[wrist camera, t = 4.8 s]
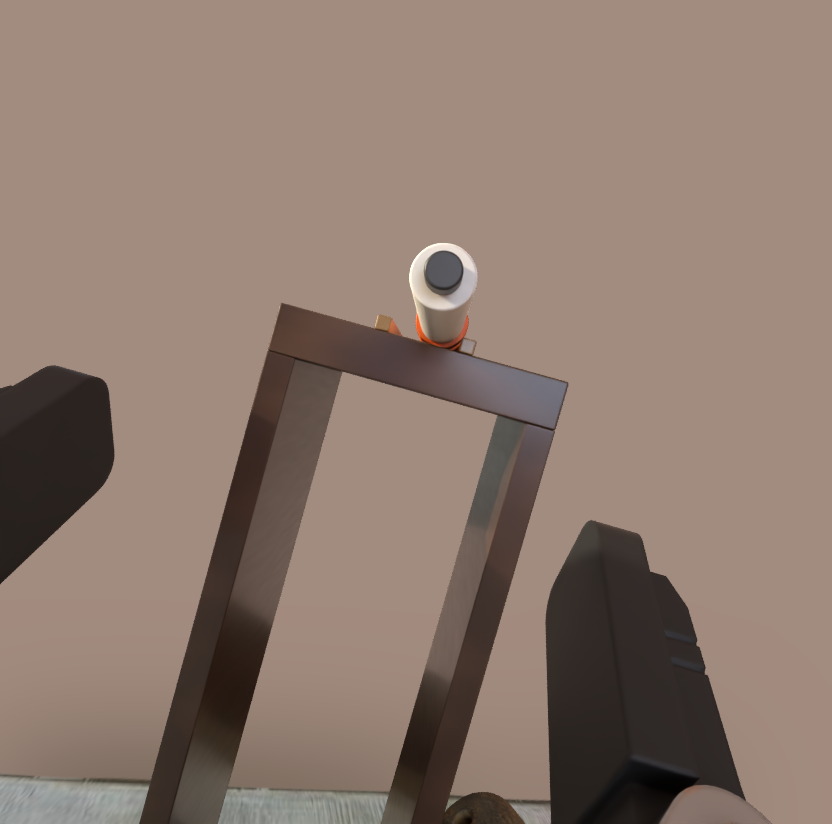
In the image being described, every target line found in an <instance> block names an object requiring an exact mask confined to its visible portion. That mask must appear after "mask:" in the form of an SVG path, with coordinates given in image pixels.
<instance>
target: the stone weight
mask: <svg viewBox="0 0 832 824" xmlns="http://www.w3.org/2000/svg"><path fill="white" fill-rule="evenodd" d="M441 824H525V823H524V822H523V820H522V819H521V817H520V816H519V815H518V814H517V812H516V811H515V810H514V809H513V808H512V806H511V805H510V804H509V803H508V802H507V801H506V800H504V799H503V798H502V797H500V796H498V795H495V794H493V793H488V792H478V793H472V794H470V795H467V796H465V797H463V798H461V799H459V800H458V801H456V802H455V803H454V804H452V805H451V806H450V807H449V808H448V809H447V810H446V812H445V813H444V816H443V820H442V823H441Z"/></svg>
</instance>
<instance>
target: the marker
mask: <svg viewBox="0 0 832 824" xmlns="http://www.w3.org/2000/svg"><path fill="white" fill-rule="evenodd" d="M477 276H478V274H477V269H476V265H475V263H474V261H473V259H472V257H471V256H470V255H469V254H468V253H467V252H466V251H465V250H464V249H462V248H461V247H459V246H456V245H453V244H449V243H439V244H434V245H431V246H429V247H427V248H426V249H424V250H423V251H421V252H420V253H419V254H418V256H417V257H416V258H415V260H414V261H413V263H412V266H411V269H410V277H409V280H410V286H411V290H412V294H413V298H414V302H415V306H416V309H417V316H416V328H417V332H418V335H419V338H420V341H421V342H425V343H428V344H432V345H436V346H439V347H443V348H446V349H450V350H454V351H458V348H459V346H460V343H461V340H462V338H464V336H465V334H466V332H467V329H468V315H467V314H468V311H469V307H470V304H471V301H472V298H473V295H474V292H475V289H476V285H477V279H478V278H477Z"/></svg>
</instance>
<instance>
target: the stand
mask: <svg viewBox="0 0 832 824" xmlns="http://www.w3.org/2000/svg"><path fill="white" fill-rule="evenodd" d="M475 347H476V341H474V340H470V339H467V338H462V340H461V343H460V346H459V348H458V351H454V350H450V349H446V348H443V347H439V346H436V345H432V344H428V343H425V342H421V341H417V340H414V339H410V338H406V337H403V336H402V335H401V333H400V331H399V329H398V328H397V326H396V324H395V323H394V321H393V319H392V318H391V317H387V316H384V315H378V317H377V321H376V324H375V329H374V328H371V327H367V326H363V325H360V324H356V323H352V322H349V321H345V320H342V319H338V318H335V317H331V316H327V315H324V314H320V313H317V312H313V311H309V310H305V309H302V308H299V307H295V306H291V305H288V304H284V303H281V304H280V307H279V310H278V314H277V318H276V321H275V325H274V329H273V332H272V336H271V340H270V343H269V347H268V350H269V351H267V354H266V357H265V361H264V365H263V369H262V373H261V376H260V380H259V383H258V387H257V391H256V394H255V398H254V402H253V405H252V410H251V413H250V417H249V420H248V424H247V428H246V431H245V435H244V439H243V442H242V446H241V450H240V454H239V457H238V461H237V465H236V468H235V472H234V476H233V480H232V483H231V487H230V490H229V494H228V498H227V502H226V505H225V509H224V513H223V517H222V520H221V524H220V528H219V531H218V535H217V538H216V542H215V546H214V550H213V553H212V557H211V561H210V564H209V568H208V572H207V576H206V579H205V583H204V587H203V590H202V594H201V598H200V601H199V605H198V609H197V612H196V616H195V620H194V624H193V627H192V631H191V635H190V638H189V642H188V646H187V649H186V653H185V657H184V660H183V664H182V668H181V672H180V675H179V679H178V683H177V687H176V690H175V694H174V697H173V701H172V705H171V708H170V712H169V716H168V720H167V723H166V727H165V731H164V735H163V738H162V742H161V745H160V749H159V753H158V757H157V760H156V764H155V768H154V772H153V775H152V779H151V782H150V786H149V790H148V793H147V797H146V801H145V804H144V808H143V812H142V816H141V819H140V823H139V824H218V821H219V817H220V813H221V810H222V806H223V802H224V799H225V795H226V792H227V788H228V784H229V780H230V777H231V773H232V770H233V766H234V762H235V759H236V755H237V752H238V748H239V744H240V741H241V737H242V733H243V730H244V726H245V723H246V719H247V715H248V712H249V708H250V704H251V701H252V697H253V694H254V690H255V686H256V683H257V679H258V676H259V672H260V668H261V665H262V661H263V657H264V654H265V650H266V646H267V643H268V639H269V636H270V632H271V628H272V625H273V621H274V617H275V614H276V610H277V606H278V603H279V599H280V596H281V592H282V588H283V585H284V581H285V577H286V574H287V570H288V567H289V563H290V559H291V556H292V552H293V549H294V545H295V541H296V538H297V534H298V530H299V527H300V523H301V519H302V516H303V512H304V509H305V505H306V501H307V498H308V494H309V490H310V487H311V483H312V480H313V476H314V472H315V469H316V465H317V461H318V458H319V454H320V451H321V447H322V443H323V440H324V436H325V432H326V429H327V425H328V421H329V418H330V414H331V410H332V407H333V403H334V399H335V396H336V392H337V389H338V385H339V381H340V378H341V374H342V372H346V373H350V374H353V375H357V376H360V377H364V378H367V379H371V380H375V381H379V382H382V383H385V384H389V385H392V386H396V387H399V388H403V389H406V390H410V391H414V392H417V393H421V394H425V395H428V396H431V397H435V398H439V399H442V400H446V401H449V402H453V403H457V404H460V405H463V406H467V407H471V408H474V409H478V410H481V411H485V412H488V413H492V414H495V415H498V416H497V419H496V422H495V426H494V430H493V433H492V437H491V440H490V443H489V447H488V450H487V454H486V458H485V461H484V464H483V468H482V472H481V475H480V478H479V482H478V485H477V489H476V493H475V496H474V499H473V503H472V507H471V510H470V513H469V517H468V520H467V524H466V527H465V531H464V534H463V538H462V541H461V545H460V548H459V552H458V555H457V559H456V562H455V566H454V570H453V573H452V576H451V580H450V583H449V587H448V590H447V594H446V597H445V601H444V605H443V608H442V611H441V615H440V618H439V622H438V625H437V629H436V632H435V636H434V639H433V643H432V647H431V650H430V653H429V657H428V660H427V664H426V668H425V671H424V674H423V678H422V681H421V685H420V688H419V692H418V695H417V699H416V702H415V706H414V709H413V713H412V716H411V720H410V723H409V727H408V730H407V734H406V737H405V741H404V744H403V748H402V751H401V755H400V758H399V762H398V765H397V769H396V772H395V776H394V779H393V783H392V786H391V790H390V793H389V797H388V800H387V804H386V807H385V811H384V814H383V818H382V821H381V824H441V823H442V820H443V816H444V813H445V809H446V806H447V802H448V799H449V795H450V792H451V788H452V785H453V782H454V778H455V775H456V771H457V768H458V764H459V761H460V757H461V754H462V750H463V747H464V743H465V740H466V737H467V733H468V730H469V726H470V723H471V719H472V716H473V712H474V709H475V705H476V702H477V698H478V695H479V692H480V688H481V685H482V681H483V678H484V675H485V671H486V667H487V664H488V661H489V657H490V654H491V650H492V647H493V643H494V640H495V637H496V633H497V629H498V626H499V623H500V619H501V616H502V612H503V609H504V606H505V602H506V599H507V595H508V592H509V588H510V585H511V581H512V578H513V574H514V571H515V568H516V564H517V561H518V557H519V553H520V550H521V547H522V543H523V540H524V536H525V533H526V529H527V526H528V523H529V519H530V516H531V512H532V508H533V506H534V502H535V499H536V495H537V492H538V488H539V484H540V481H541V478H542V474H543V471H544V468H545V464H546V461H547V457H548V453H549V450H550V447H551V443H552V440H553V437H554V433H555V431H553V430H555V429H556V426H557V422H558V419H559V415H560V411H561V408H562V405H563V401H564V398H565V395H566V391H567V387H568V382H565V381H562V380H558V379H554V378H551V377H547V376H544V375H540V374H536V373H533V372H529V371H526V370H522V369H518V368H514V367H511V366H508V365H504V364H500V363H497V362H493V361H489V360H486V359H482V358H479V357H475V356H472V355H473V353H474V350H475Z"/></svg>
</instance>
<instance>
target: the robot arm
mask: <svg viewBox="0 0 832 824" xmlns="http://www.w3.org/2000/svg"><path fill="white" fill-rule="evenodd" d="M113 462H114V444H113V433H112V422H111V411H110V401H109V392H108V387H107V385H106V383H105V382H104V381H103V380H102V379H100V378H98V377H94V376H91V375H87V374H84V373H80V372H76V371H73V370H70V369H66V368H63V367H59V366H55V365H54V366H47V367H45V368H43V369H41V370H39V371H38V372H36V373H34V374H33V375H31V376H29V377H28V378H26V379H24V380H23V381H21V382H19V383H18V384H16V385H14V386H7V387H4V388H0V584H1V583H2V582H3V581H4V580H5V579H6V578H7V577H8V576H9V575H10V574H11V573H12V572H13V571H14V570H16V568H17V567H19V566H20V565H21V564H22V563H23V562H24V561H25V560H26V559H27V558H28V557H29V556H30V555H31V554H32V553H33V552H34V551H35V550H37V548H39V547H40V546H41V545H42V544H43V543H44V542H45V541H46V540H47V539H48V538H49V537H50V536H51V535H52V534H53V533H54V532H55V531H56V530H58V529H59V528H60V527H61V526H62V525H63V524H64V523H65V522H66V521H67V520H68V519H69V518H70V517H71V516H72V515H73V514H74V513H75V512H76V511H77V510H79V509H80V508H81V506H83V505H84V504H85V503H86V502H87V501H88V500H89V499H90V498H91V497H92V496H93V495H94V494H95V493H96V492H97V491H98V490H99V489H100V488H101V487H102V486H103V485H104V483H105V482H106V480H107V478H108V476H109V474H110V472H111V469H112V466H113ZM696 642H697V637H696V634H695V631H694V628H693V624H692V621H691V617H690V614H689V610H688V608H687V606H686V605H685V603H684V602H683V600H682V599H681V597H680V596H679V594H678V593H677V592H676V590H675V589H674V587H673V586H672V584H671V583H670V581H669V580H668V578H667V577H666V576H663V575H660V574H656V573H653V572H650V570H649V565H648V561H647V557H646V553H645V549H644V545H643V541H642V538H641V537H640V535H639V534H637V533H634V532H631V531H627V530H624V529H620V528H617V527H613V526H610V525H606V524H603V523H599V522H596V521H592V520H591V521H588V522H587V523H586V524H585V526H584V527H583V528H582V530H581V532H580V534H579V536H578V538H577V540H576V542H575V544H574V546H573V548H572V549H571V551H570V553H569V555H568V557H567V559H566V561H565V563H564V565H563V567H562V569H561V571H560V572H559V574H558V576H557V578H556V580H555V582H554V584H553V587H552V589H551V593H550V596H549V600H548V605H547V611H546V655H547V690H548V726H549V762H550V795H551V824H772V823H771V822H770V821H769V820H768V819H767V818H766V817H765V816H764V815H763V814H762V813H761V812H759V811H758V810H757V809H756V808H754V807H753V806H752V805H751V804H749V803H748V802H746V799H745V797H744V794H743V791H742V788H741V785H740V782H739V778H738V775H737V772H736V769H735V765H734V762H733V758H732V755H731V752H730V748H729V745H728V741H727V738H726V735H725V731H724V728H723V725H722V721H721V718H720V715H719V711H718V708H717V705H716V701H715V698H714V695H713V691H712V688H711V684H710V681H709V678H708V676H707V675H705V664H704V661H703V658H702V654H701V651H700V648H699V647H698V646H696Z"/></svg>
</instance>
